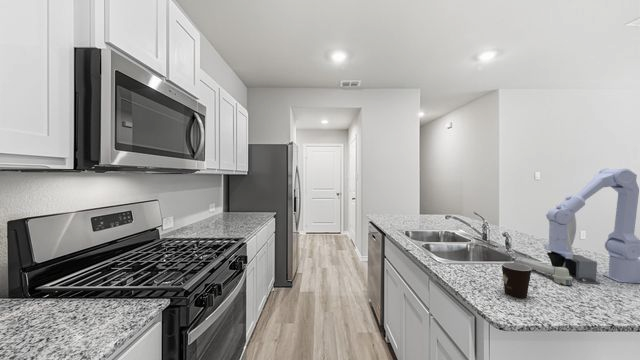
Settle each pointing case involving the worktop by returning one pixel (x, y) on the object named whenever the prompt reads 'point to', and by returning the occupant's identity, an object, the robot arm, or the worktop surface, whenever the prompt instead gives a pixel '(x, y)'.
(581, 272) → the bracket sleeve
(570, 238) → the skyscraper
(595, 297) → the worktop surface
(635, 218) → the robot arm
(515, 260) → the light grey piece
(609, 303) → the worktop surface
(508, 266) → the coffee mug
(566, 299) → the worktop surface
